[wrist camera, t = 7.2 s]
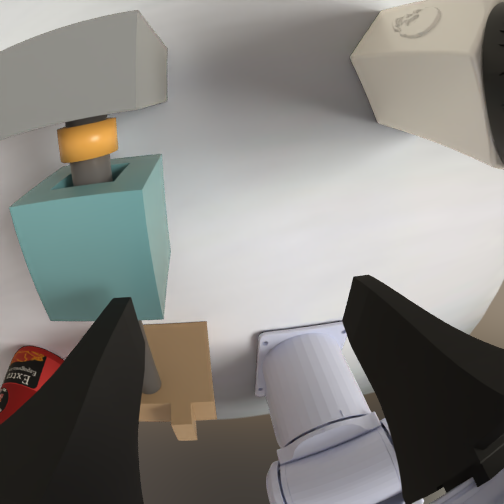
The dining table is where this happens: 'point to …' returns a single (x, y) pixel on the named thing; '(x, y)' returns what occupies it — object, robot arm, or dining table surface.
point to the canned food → (26, 377)
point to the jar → (439, 73)
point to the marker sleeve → (97, 240)
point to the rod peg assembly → (109, 167)
